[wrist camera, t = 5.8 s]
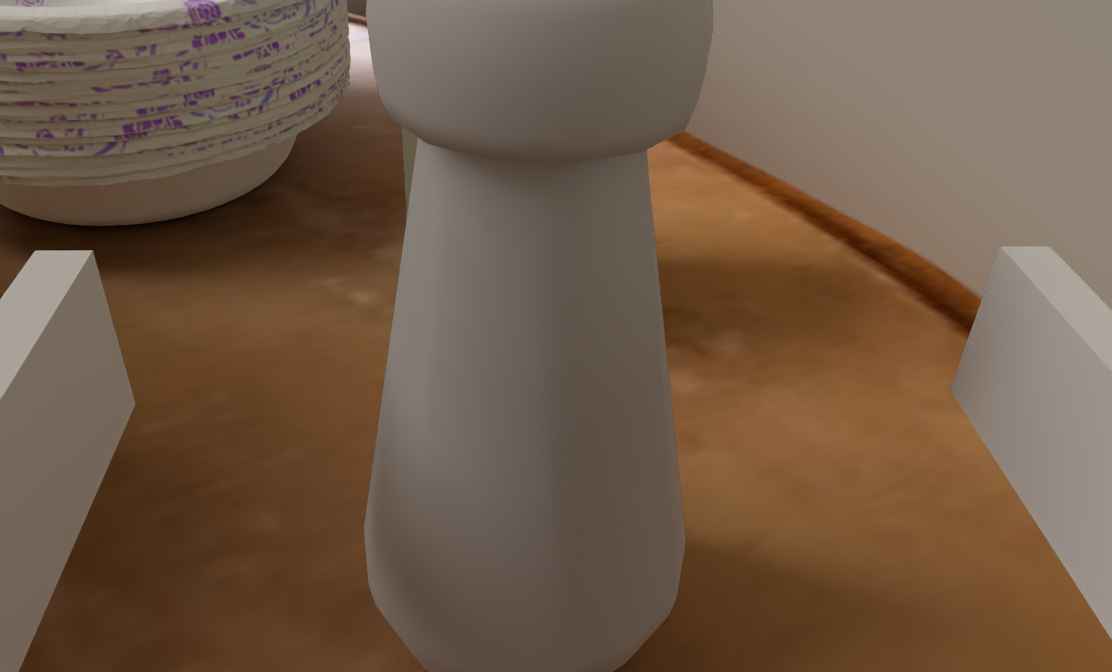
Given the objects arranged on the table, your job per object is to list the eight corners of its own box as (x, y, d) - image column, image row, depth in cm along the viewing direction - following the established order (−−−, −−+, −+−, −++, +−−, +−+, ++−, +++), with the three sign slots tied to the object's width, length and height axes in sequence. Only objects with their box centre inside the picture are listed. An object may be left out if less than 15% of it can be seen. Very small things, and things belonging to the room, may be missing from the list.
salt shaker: (367, 532, 21) (293, -130, 13) (623, 498, 22) (693, -130, 14) (386, 790, 16) (291, -3, 8) (711, 730, 17) (882, -19, 10)
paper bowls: (368, 260, 30) (346, 1, 25) (-179, 296, 27) (-317, 12, 22) (355, 81, 42) (339, -116, 37) (-24, 93, 39) (-92, -118, 35)
